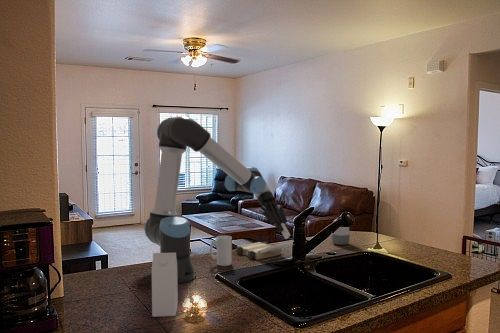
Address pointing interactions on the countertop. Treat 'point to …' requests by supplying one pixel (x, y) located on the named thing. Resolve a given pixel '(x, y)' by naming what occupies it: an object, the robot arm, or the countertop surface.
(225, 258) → the mug
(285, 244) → the panel
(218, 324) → the countertop surface
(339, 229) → the smart speaker
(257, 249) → the flatbed
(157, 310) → the milk carton
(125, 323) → the countertop surface
